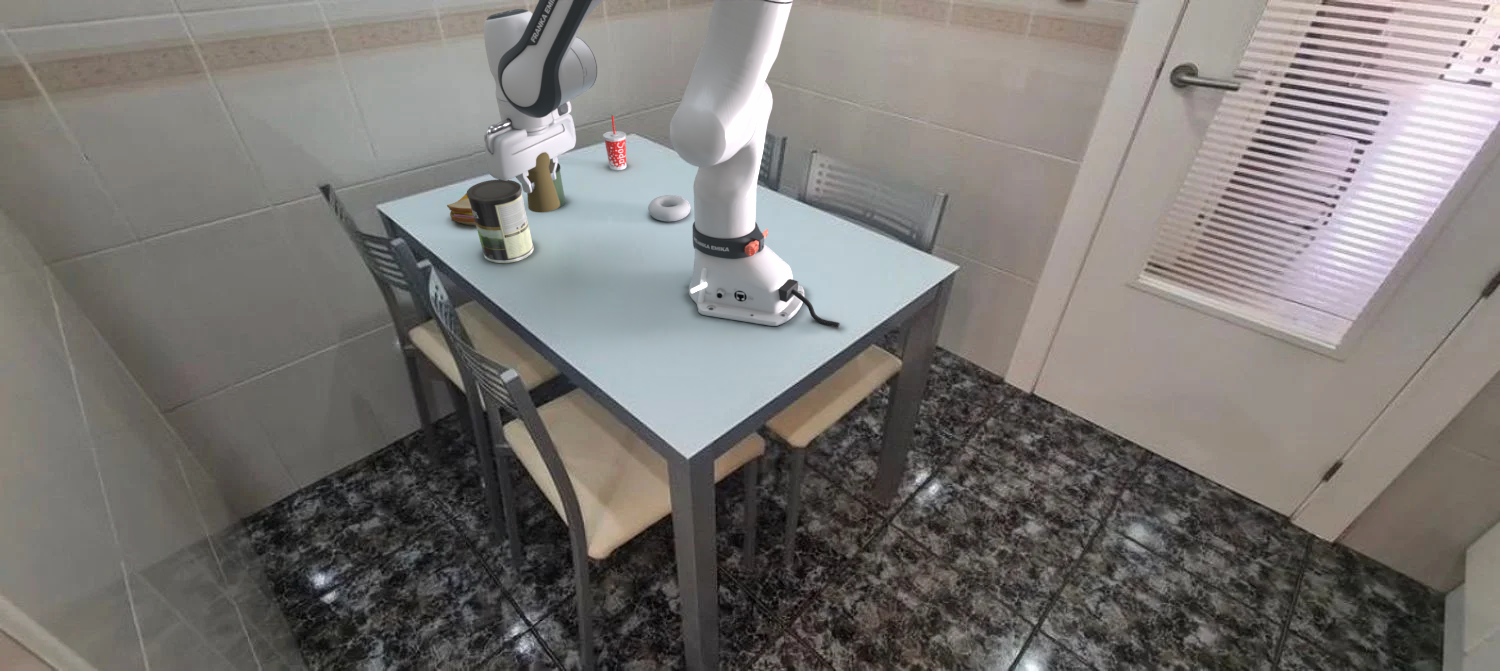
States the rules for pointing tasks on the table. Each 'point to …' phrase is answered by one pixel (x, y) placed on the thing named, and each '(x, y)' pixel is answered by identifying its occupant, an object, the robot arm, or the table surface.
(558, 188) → the olive tin
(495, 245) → the coffee can
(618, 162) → the beverage cup
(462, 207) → the toy sandwich meal
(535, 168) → the cork
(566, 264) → the table surface
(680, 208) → the donut
